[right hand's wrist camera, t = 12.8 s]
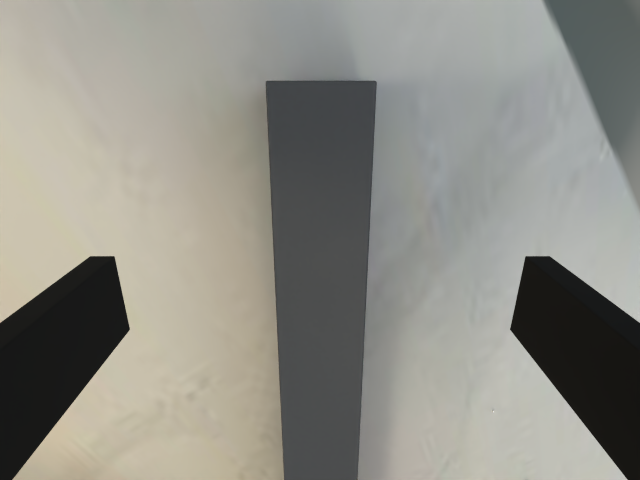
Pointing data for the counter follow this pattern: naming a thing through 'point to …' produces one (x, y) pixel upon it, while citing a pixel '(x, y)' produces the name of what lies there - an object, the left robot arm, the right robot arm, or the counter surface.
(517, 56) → the counter surface
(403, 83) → the counter surface
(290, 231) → the bar
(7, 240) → the counter surface
